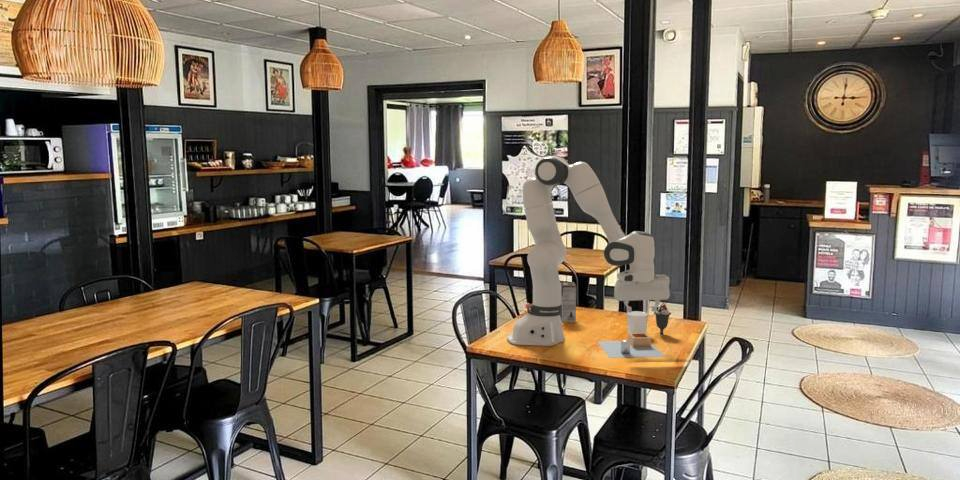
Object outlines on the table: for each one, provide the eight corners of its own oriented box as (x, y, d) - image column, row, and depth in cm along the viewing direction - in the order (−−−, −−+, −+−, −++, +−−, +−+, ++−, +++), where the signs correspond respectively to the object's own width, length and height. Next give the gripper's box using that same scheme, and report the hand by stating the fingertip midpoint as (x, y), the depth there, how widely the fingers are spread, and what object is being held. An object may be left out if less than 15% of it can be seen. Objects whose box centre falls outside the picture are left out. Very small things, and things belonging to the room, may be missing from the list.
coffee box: (559, 316, 297) (559, 281, 294) (573, 316, 296) (574, 281, 294) (561, 322, 287) (562, 285, 285) (576, 322, 287) (577, 285, 285)
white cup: (622, 336, 264) (623, 312, 263) (638, 334, 267) (639, 310, 266) (634, 341, 257) (635, 316, 256) (651, 339, 260) (651, 314, 259)
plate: (609, 361, 233) (609, 357, 232) (596, 345, 252) (596, 341, 252) (665, 360, 234) (665, 356, 233) (648, 344, 253) (648, 340, 253)
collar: (633, 347, 245) (633, 338, 244) (628, 342, 251) (628, 333, 251) (651, 347, 245) (651, 337, 244) (645, 341, 252) (646, 332, 251)
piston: (622, 354, 236) (622, 342, 236) (619, 351, 239) (620, 339, 239) (631, 354, 236) (631, 341, 236) (628, 351, 239) (629, 339, 239)
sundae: (671, 340, 259) (672, 302, 257) (653, 339, 260) (654, 302, 258) (669, 335, 265) (671, 299, 263) (652, 335, 267) (653, 298, 265)
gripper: (666, 272, 248) (666, 308, 250) (612, 274, 247) (612, 310, 249) (672, 275, 242) (671, 312, 244) (617, 277, 241) (617, 314, 243)
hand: (641, 311), depth 246 cm, fingers open, 8 cm apart
